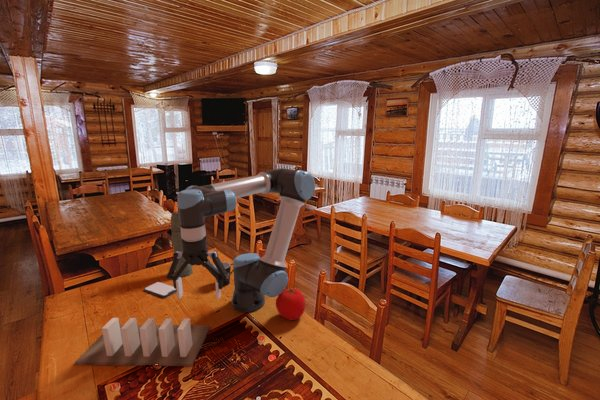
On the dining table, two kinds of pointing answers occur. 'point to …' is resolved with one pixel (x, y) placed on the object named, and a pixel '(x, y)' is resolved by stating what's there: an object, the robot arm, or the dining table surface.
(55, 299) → the dining table surface
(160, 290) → the phone case
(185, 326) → the loose domino
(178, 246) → the thermos
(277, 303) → the tomato
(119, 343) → the domino
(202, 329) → the walnut board
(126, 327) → the domino
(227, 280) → the coffee mug
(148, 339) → the domino
